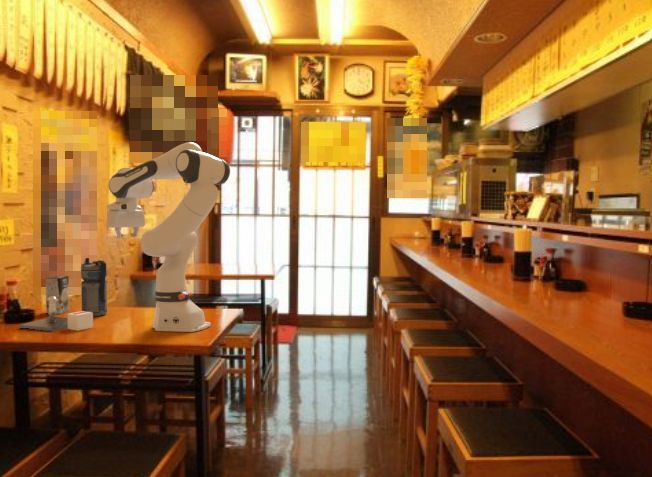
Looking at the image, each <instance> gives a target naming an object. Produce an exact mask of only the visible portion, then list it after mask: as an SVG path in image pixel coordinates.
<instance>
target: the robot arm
mask: <svg viewBox="0 0 652 477" xmlns="http://www.w3.org/2000/svg"><path fill="white" fill-rule="evenodd" d="M230 174H231V168H230V165H229V163H228V162H226V160H224V159H223V158H221V157H218V156H217V157H216V156H214V155H212V154H209V153H206V152H203V149H202V148H201V147H200V145H199V144H197V143H195V142H192V141H188V142H185V143H184V142H183V143H182V144H179V145H177V146H175V147H173V148H172V149H169V151H167V152H165V153H163V154H161V155H160V156H157V157H155V158H152V159H151V160H148V161H146V162H143V163H141V164H138V165H137V166H135V167H123V168H120V169H118V170H117V172H116V173H115V174H113V175H112V177H111V178H110V179H109V182H108V190H109V191H110V193H111V194H112V195H113V196H114V197H115V201H113V202H111V203H109V204H107V206H106V207H107V208H106V209H107V210H108V211H107V215H106V216H107V217H106V220H107V221H106V222H107V226H108V228H111V229H112V228H113V229H114V231H115V234H116V238H117V239H124V238H123V237H124V236H123V233H122V232H121V230H122V228H132V229H133V232H132V233H131V237H132V238H138V233H139V232H140V231H139V230H140V228H142V227H145V225H146V218H145V212H144V209H143V207H142V206H140V205H139V202H138V201H139V200H138V199H146V198H147V199H148V198H150V197H151V196H152V195H153V193H154V190H155V185H154V182H153V180H176V179H180V178H182V181H183V182H184V183H186V184H190V186H189V190H188V191H187V192H186V194H185V195H184V196H183V198H182V199H181V201H180V202H179V203H178V205H177V206H176V208H175V209H174V211H172V213H171V214H170V215H168V217H166V218H165V219H164V220H162V221H161V222H160V223H159V224H157V225H156V226H155V227H153V228H151V229H148V230H146V231H145V232H144V233H143V234H142V236H141V237H140V248H141V250H142V252H143V253H144V254H145V255H147V256H151V257H155V258H162V257H165V258H164V261H163V263H162V264H161V266H160V267H158V269H157V270H156V273H155V274H156V276H155V277H156V279H155V282H156V284H155V285H156V286H155V288H156V290H155V292H154V294H155V296H154V299H155V300H154V301H155V313H154V319H153V324H152V328H153V329H154V331H155V332H176V333H177V332H180V333H184V332H185V333H193V332H194V333H195V332H199V331H202V330H205V329H207V328H210V327H211V324H212V323H211V322H210V321H206V320H205V313H204V311H203V309H202V308H200V307H199V306H198V305H196V303H194V302H193V301H192V300H191V298H190V296H191V295H192V291H191V292H188V291H187V289H186V273H187V268H188V267H187V266H188V263H189V260H190V257H191V256H192V254H193V253H194V252H195V250H196V249H197V247H198V245H199V238H198V234H197V233H196V232H195V231H197V230H198V229H199V228H200V226H201V225H202V223H204V221H205V220H206V218H207V217H208V215H210V213H211V211H212V210H213V208H214V207H215V204H216V202H217V200H218V198H219V194H220V192H219V189H218V187H217V186H218V185H219V186H220V185H224V184H225V183H227V181H228V180H229V178H230Z"/></svg>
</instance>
